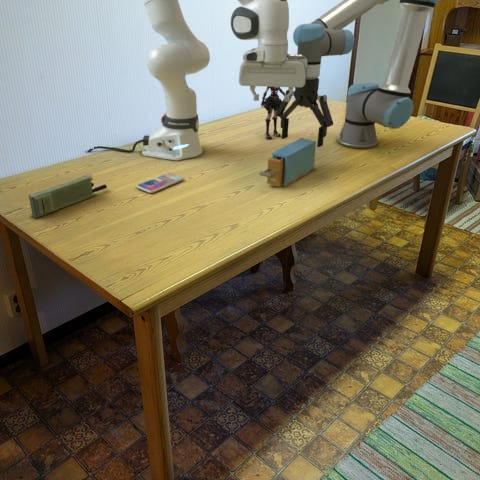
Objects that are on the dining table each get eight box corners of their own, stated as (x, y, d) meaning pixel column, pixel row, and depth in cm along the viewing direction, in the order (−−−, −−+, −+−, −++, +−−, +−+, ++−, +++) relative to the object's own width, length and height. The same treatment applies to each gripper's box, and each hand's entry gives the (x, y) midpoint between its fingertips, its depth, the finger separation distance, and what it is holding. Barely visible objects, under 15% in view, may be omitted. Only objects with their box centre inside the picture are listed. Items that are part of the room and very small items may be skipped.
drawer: (270, 191, 158) (271, 166, 154) (258, 188, 160) (259, 162, 156) (306, 170, 174) (308, 146, 170) (295, 167, 176) (296, 143, 172)
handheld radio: (30, 215, 144) (102, 188, 161) (37, 219, 142) (109, 191, 159) (26, 193, 140) (100, 168, 157) (33, 197, 138) (107, 171, 155)
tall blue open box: (285, 186, 164) (287, 156, 159) (270, 182, 167) (271, 152, 162) (313, 169, 177) (316, 141, 172) (299, 165, 180) (301, 137, 175)
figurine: (264, 141, 202) (266, 63, 188) (253, 138, 206) (255, 61, 191) (288, 134, 211) (293, 59, 196) (278, 131, 215) (282, 57, 200)
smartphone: (184, 177, 167) (150, 191, 157) (184, 180, 167) (151, 194, 157) (168, 171, 171) (134, 185, 161) (168, 174, 171) (135, 188, 161)
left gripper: (308, 53, 151) (305, 99, 158) (240, 51, 154) (240, 97, 161) (307, 56, 146) (304, 104, 153) (237, 54, 149) (237, 102, 155)
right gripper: (348, 80, 156) (340, 146, 167) (280, 70, 169) (276, 132, 179) (338, 84, 151) (330, 152, 161) (267, 73, 164) (264, 137, 174)
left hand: (271, 101), depth 157 cm, fingers open, 8 cm apart
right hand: (301, 142), depth 170 cm, fingers open, 13 cm apart
